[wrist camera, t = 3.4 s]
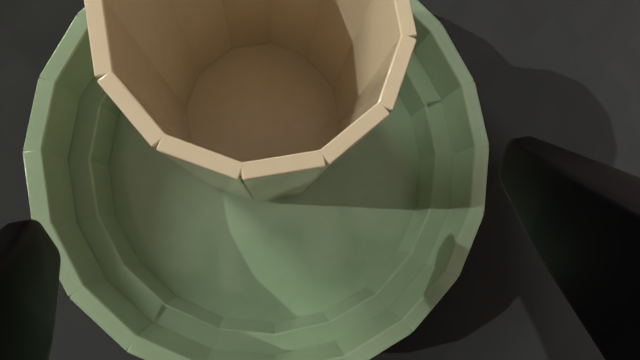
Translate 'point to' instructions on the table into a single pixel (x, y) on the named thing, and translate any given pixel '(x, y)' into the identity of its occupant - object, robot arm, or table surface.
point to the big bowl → (259, 222)
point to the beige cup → (252, 82)
